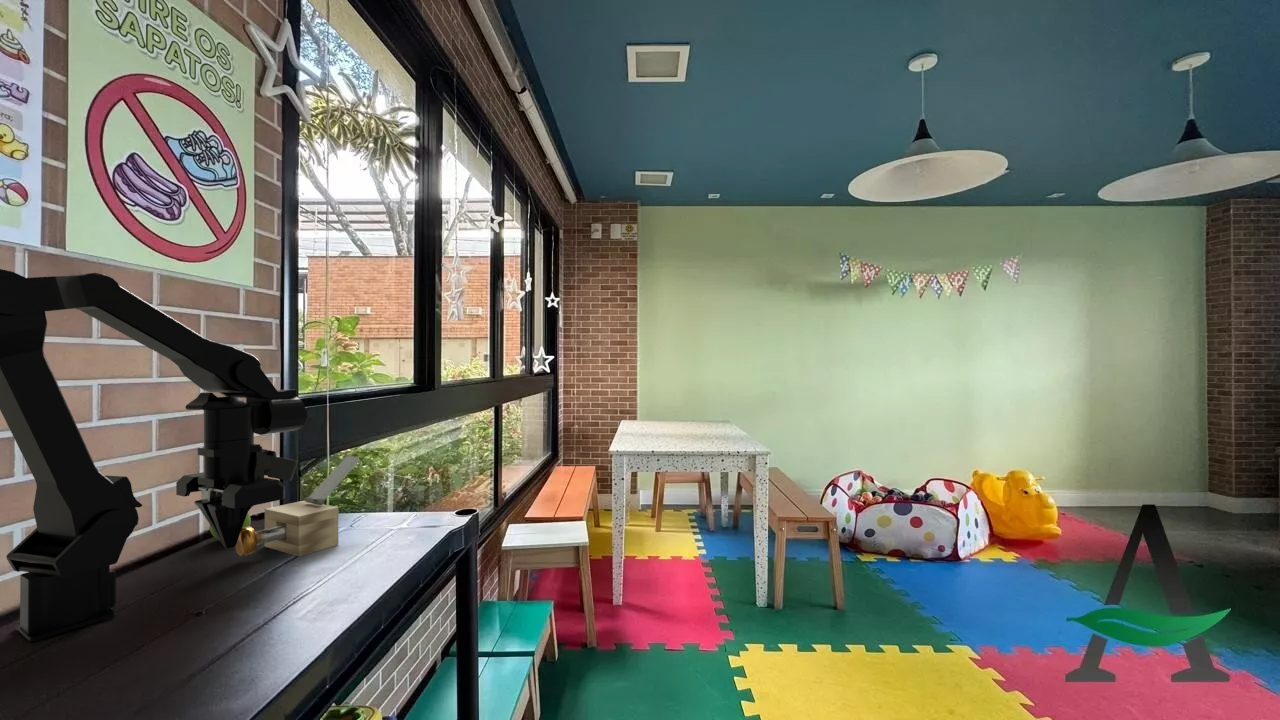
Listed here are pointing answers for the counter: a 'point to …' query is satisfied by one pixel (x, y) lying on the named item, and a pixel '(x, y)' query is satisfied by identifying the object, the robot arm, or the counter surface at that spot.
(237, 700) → the counter surface
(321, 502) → the bar
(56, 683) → the counter surface
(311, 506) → the block
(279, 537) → the pin
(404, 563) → the counter surface
